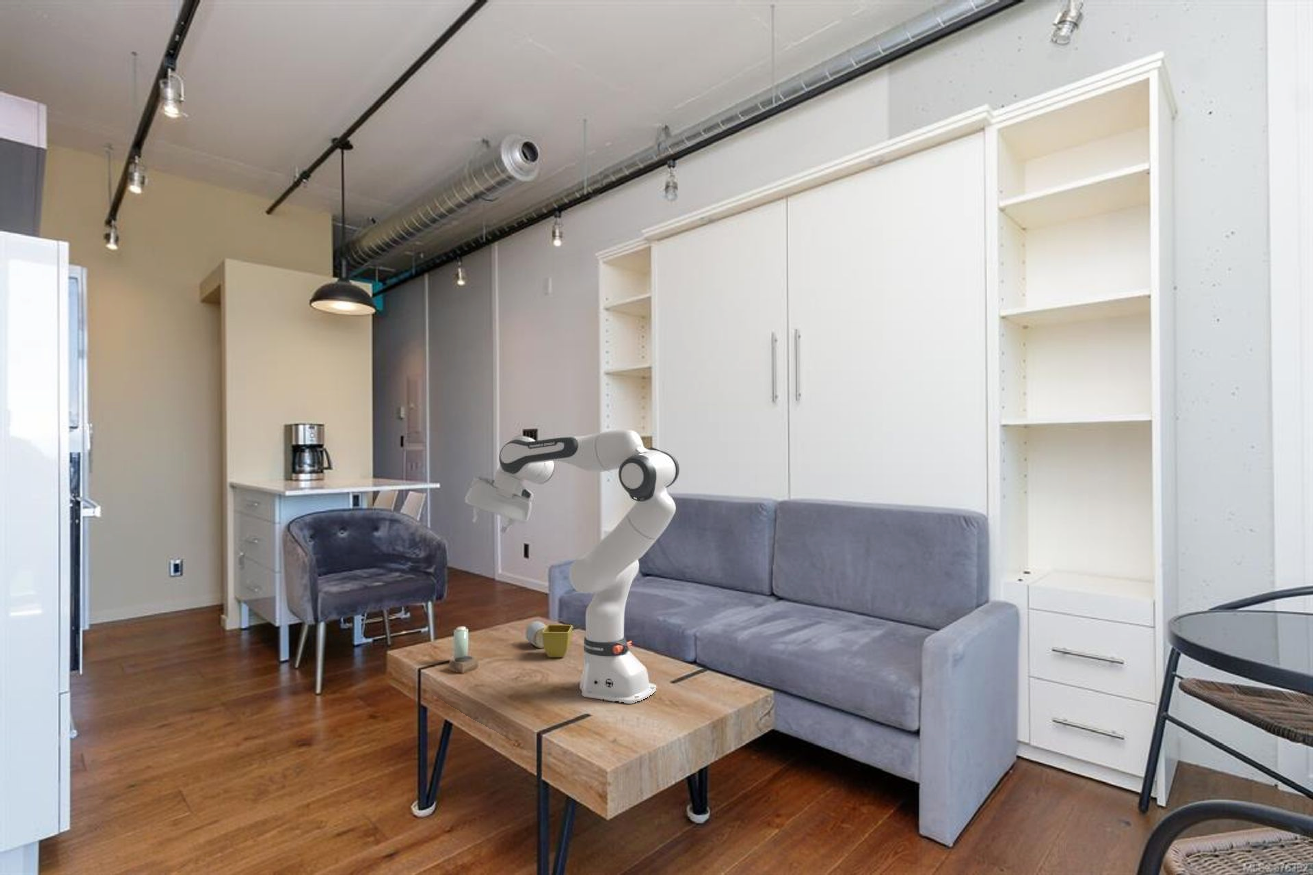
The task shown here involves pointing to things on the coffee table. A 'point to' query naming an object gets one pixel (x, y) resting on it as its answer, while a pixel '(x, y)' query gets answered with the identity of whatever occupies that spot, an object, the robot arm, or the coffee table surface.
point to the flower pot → (556, 639)
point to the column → (460, 642)
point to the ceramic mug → (535, 633)
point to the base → (463, 664)
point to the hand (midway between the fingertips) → (489, 527)
